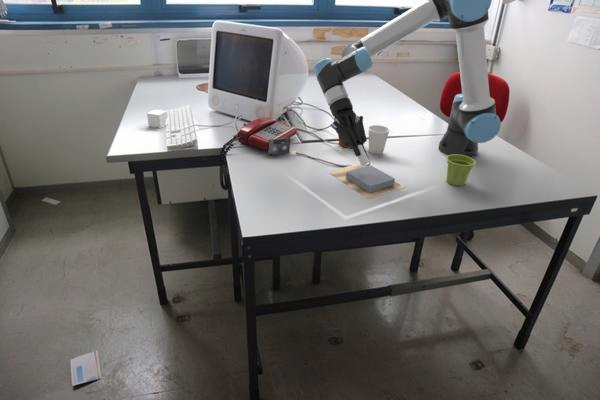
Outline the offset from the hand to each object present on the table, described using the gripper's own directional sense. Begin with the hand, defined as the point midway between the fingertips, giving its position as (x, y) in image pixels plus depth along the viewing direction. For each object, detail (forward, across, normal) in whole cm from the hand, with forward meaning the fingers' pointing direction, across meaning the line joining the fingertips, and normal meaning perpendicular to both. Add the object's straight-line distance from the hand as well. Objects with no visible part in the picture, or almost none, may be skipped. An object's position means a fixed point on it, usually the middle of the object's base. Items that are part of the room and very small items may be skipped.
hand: (365, 163), depth 138 cm
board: (+5, 0, -4) cm, 7 cm away
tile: (+1, 0, -5) cm, 5 cm away
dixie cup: (-7, -21, -16) cm, 28 cm away
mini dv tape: (-20, +13, -29) cm, 38 cm away
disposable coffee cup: (-15, -15, -25) cm, 33 cm away
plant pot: (+17, -28, +7) cm, 33 cm away
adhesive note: (-56, +44, -66) cm, 97 cm away
